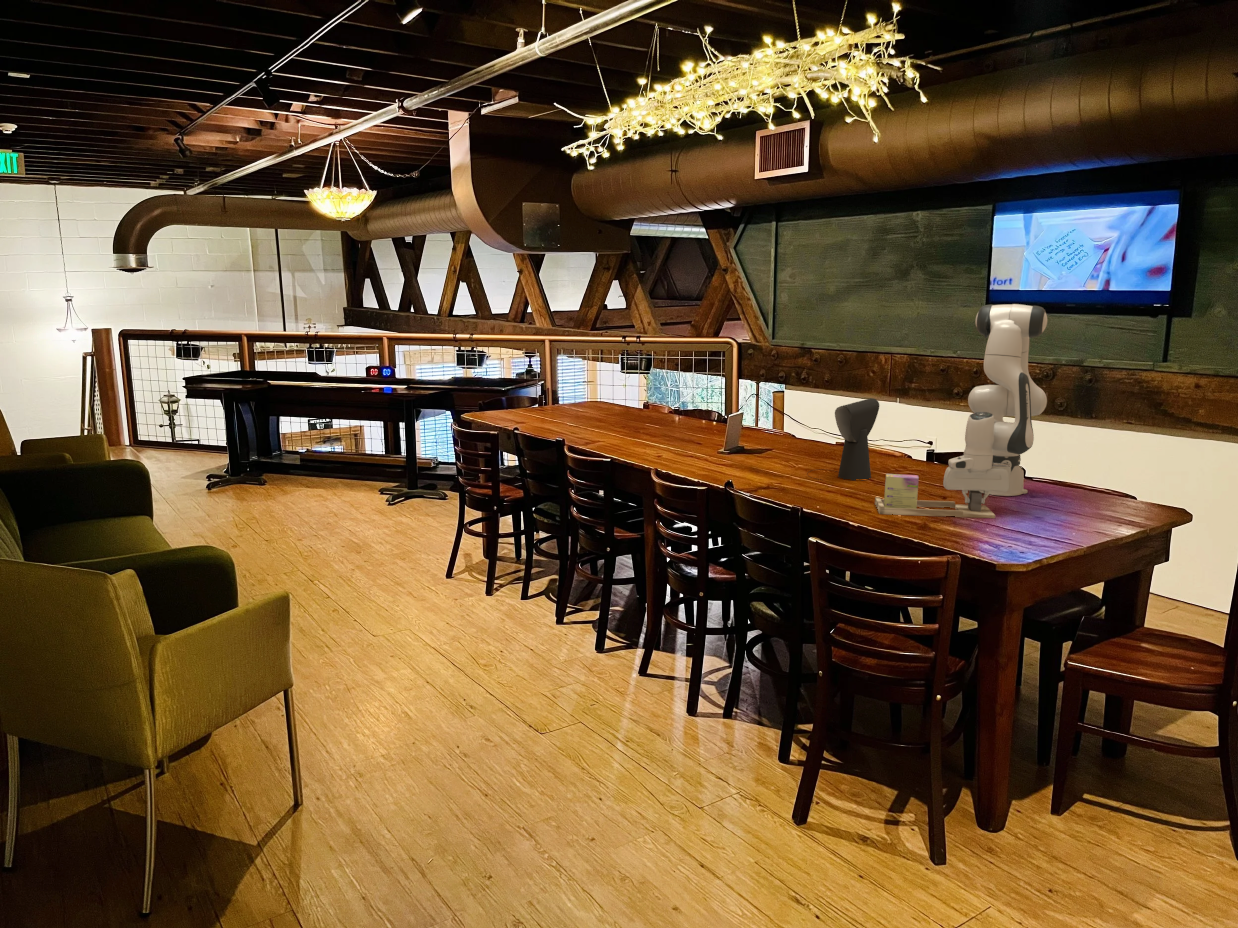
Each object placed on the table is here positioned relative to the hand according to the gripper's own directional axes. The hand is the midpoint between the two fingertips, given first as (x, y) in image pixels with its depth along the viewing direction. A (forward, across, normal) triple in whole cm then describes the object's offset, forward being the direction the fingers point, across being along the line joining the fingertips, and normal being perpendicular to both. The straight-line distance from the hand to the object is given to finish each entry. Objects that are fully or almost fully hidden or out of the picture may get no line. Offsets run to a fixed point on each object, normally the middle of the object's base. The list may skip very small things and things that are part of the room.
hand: (974, 503), depth 293 cm
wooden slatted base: (+3, +13, 0) cm, 13 cm away
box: (+3, +24, 0) cm, 24 cm away
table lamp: (+3, +38, -50) cm, 63 cm away
